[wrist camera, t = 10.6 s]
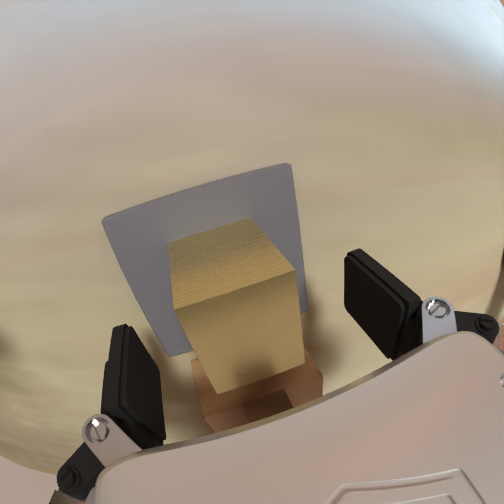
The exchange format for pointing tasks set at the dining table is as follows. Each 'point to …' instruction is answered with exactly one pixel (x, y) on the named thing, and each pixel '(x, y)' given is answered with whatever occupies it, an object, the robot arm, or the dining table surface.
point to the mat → (196, 221)
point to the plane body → (257, 395)
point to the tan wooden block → (237, 304)
